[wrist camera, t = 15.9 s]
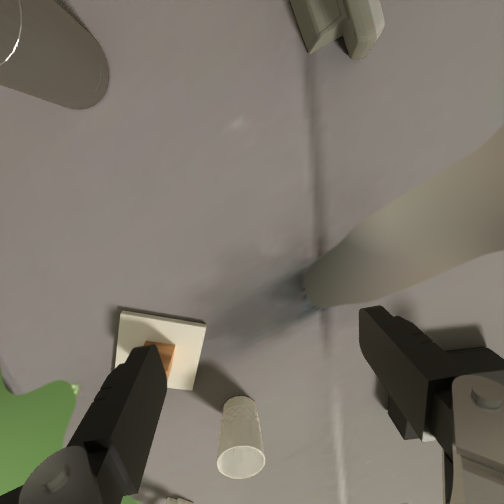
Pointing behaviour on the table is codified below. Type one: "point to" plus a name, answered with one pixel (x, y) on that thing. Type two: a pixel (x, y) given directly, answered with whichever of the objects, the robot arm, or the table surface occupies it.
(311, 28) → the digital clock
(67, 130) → the table surface
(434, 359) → the robot arm
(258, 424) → the white cup
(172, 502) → the film strip holder
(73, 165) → the table surface
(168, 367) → the orange block
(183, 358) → the pad
